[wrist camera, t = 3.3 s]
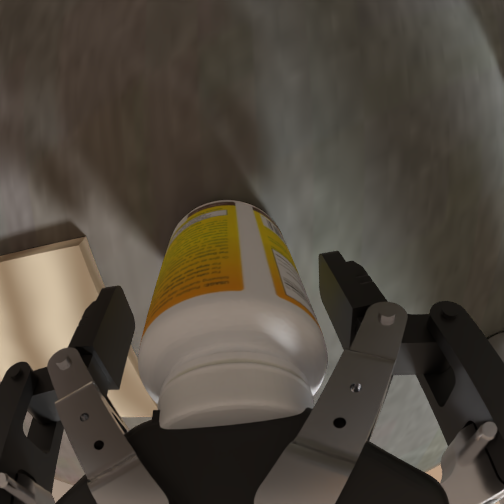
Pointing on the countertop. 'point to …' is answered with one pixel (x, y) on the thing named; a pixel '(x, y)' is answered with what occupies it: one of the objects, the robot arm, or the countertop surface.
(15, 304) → the oak board
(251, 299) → the supplement bottle
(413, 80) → the countertop surface
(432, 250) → the countertop surface
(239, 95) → the countertop surface
